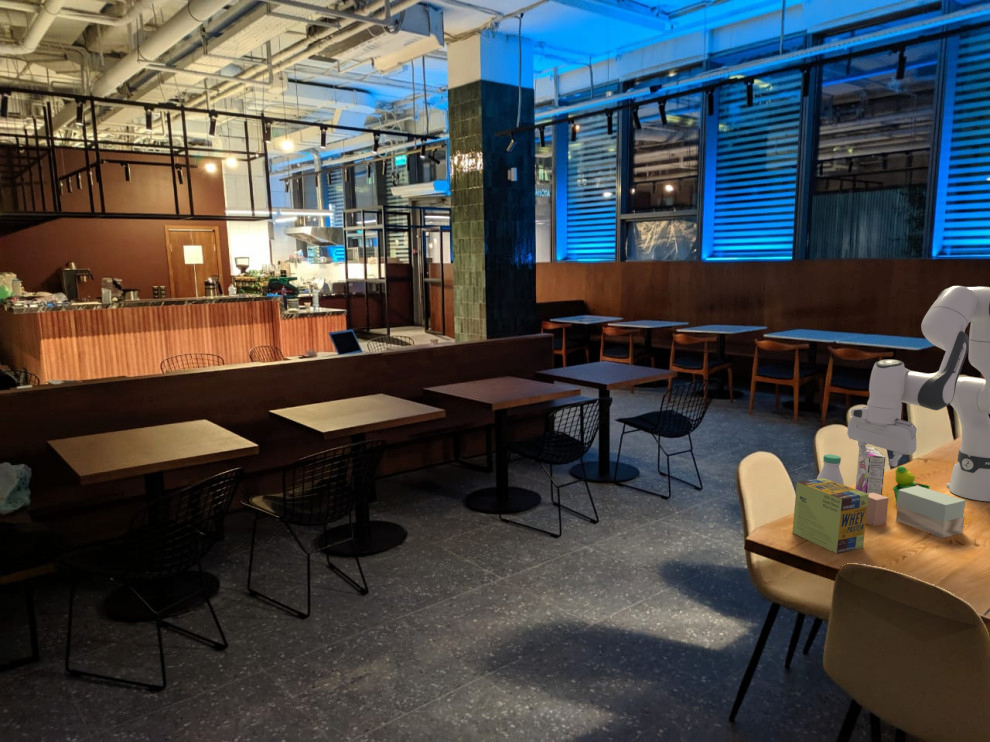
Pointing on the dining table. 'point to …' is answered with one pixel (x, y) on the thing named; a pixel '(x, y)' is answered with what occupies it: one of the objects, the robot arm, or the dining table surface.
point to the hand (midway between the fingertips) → (878, 461)
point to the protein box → (830, 514)
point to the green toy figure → (905, 480)
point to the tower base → (930, 523)
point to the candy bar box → (870, 472)
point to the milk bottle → (831, 469)
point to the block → (876, 509)
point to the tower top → (931, 503)
